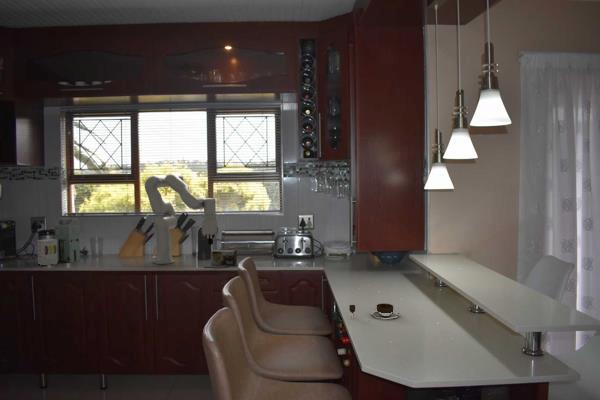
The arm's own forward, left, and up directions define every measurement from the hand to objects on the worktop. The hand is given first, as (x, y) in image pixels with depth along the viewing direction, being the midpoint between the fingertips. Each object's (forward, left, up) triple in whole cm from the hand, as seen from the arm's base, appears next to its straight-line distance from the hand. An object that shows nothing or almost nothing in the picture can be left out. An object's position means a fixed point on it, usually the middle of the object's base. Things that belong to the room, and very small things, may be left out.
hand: (210, 244), depth 315 cm
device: (-106, -8, -14) cm, 107 cm away
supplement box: (-110, -22, -14) cm, 113 cm away
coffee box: (0, +1, -9) cm, 9 cm away
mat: (+6, 0, -14) cm, 15 cm away
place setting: (+117, -86, -15) cm, 147 cm away
